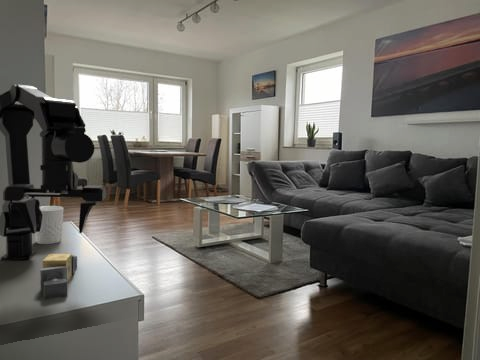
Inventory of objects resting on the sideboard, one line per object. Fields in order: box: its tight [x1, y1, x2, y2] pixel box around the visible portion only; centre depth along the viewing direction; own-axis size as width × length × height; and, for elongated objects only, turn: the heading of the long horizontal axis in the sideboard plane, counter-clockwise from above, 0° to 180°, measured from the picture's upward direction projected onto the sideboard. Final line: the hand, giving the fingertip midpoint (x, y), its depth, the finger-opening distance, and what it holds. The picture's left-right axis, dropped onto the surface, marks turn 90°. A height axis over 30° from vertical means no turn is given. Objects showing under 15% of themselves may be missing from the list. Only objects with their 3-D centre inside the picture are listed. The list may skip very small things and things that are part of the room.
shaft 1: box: [39, 266, 68, 300], centre depth 72 cm, size 5×5×4 cm
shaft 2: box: [72, 254, 78, 276], centre depth 84 cm, size 5×5×4 cm
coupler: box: [42, 253, 73, 284], centre depth 78 cm, size 4×4×6 cm
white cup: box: [34, 205, 65, 245], centre depth 107 cm, size 8×8×10 cm
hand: (57, 232), depth 77 cm, fingers open, 9 cm apart
